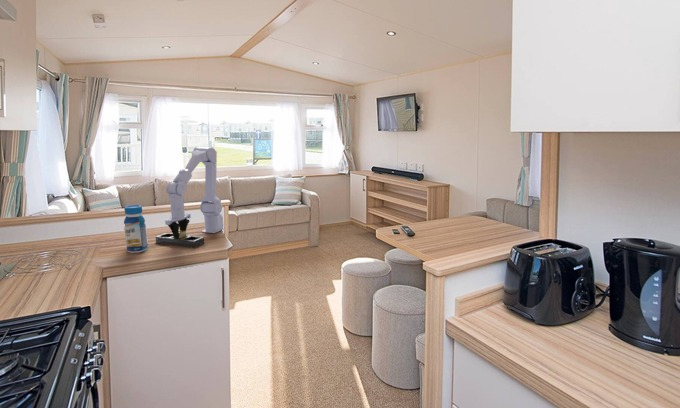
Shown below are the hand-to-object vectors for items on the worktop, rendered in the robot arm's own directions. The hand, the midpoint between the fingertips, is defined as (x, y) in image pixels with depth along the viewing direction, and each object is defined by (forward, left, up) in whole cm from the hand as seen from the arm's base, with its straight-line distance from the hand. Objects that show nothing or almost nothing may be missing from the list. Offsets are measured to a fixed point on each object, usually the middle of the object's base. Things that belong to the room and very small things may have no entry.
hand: (179, 236), depth 183 cm
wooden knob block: (0, 0, -2) cm, 2 cm away
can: (+9, -15, -4) cm, 18 cm away
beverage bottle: (+15, -10, -4) cm, 19 cm away
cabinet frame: (0, 0, -3) cm, 3 cm away
